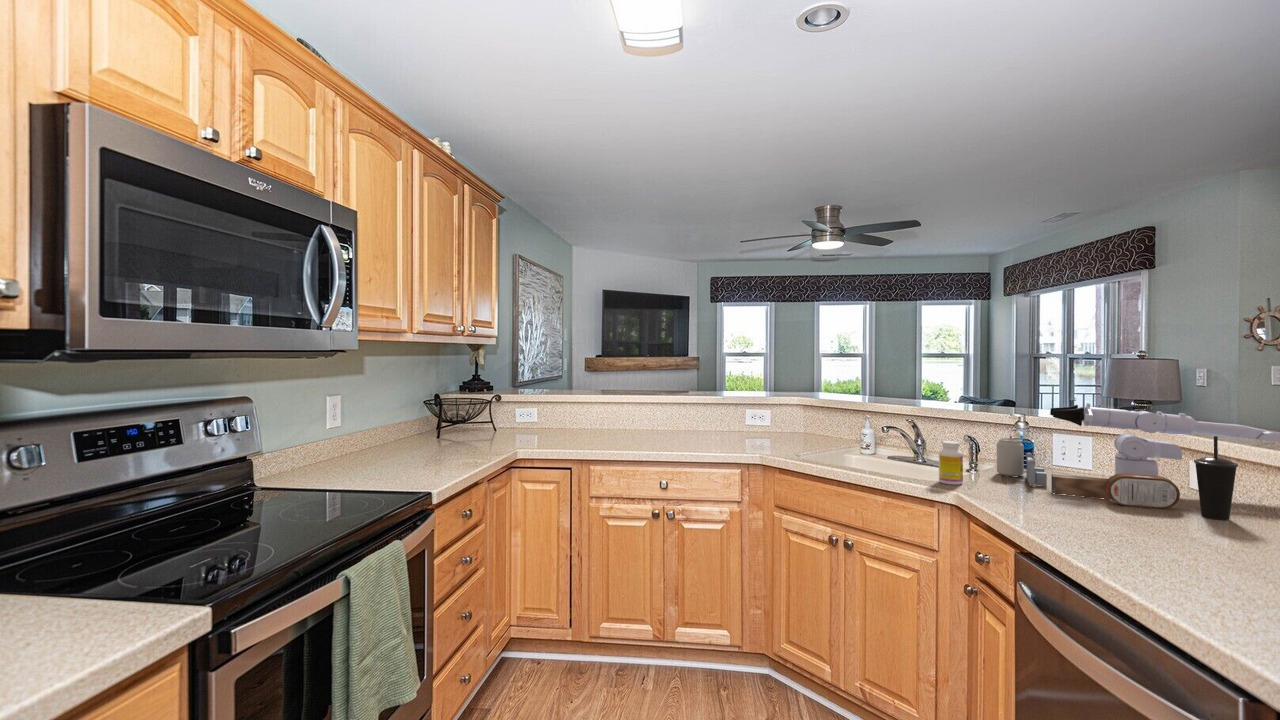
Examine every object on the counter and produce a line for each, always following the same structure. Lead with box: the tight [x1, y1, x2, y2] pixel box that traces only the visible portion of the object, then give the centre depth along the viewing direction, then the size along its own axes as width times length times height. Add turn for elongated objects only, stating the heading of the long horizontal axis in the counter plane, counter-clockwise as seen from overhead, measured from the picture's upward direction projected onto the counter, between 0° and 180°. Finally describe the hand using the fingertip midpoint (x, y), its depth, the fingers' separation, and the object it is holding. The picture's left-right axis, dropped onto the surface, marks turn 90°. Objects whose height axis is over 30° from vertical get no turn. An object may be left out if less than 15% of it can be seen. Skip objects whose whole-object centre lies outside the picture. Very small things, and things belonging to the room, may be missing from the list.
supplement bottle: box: [938, 440, 964, 486], centre depth 177 cm, size 7×7×13 cm
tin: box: [1105, 473, 1181, 510], centre depth 149 cm, size 15×3×8 cm, turn 65°
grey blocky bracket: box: [1025, 452, 1048, 488], centre depth 176 cm, size 5×14×8 cm, turn 149°
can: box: [996, 437, 1025, 477], centre depth 187 cm, size 8×8×12 cm
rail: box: [1051, 473, 1110, 500], centre depth 161 cm, size 13×4×5 cm, turn 59°
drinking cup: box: [1193, 435, 1239, 521], centre depth 139 cm, size 8×8×20 cm
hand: (1051, 412), depth 178 cm, fingers open, 7 cm apart
